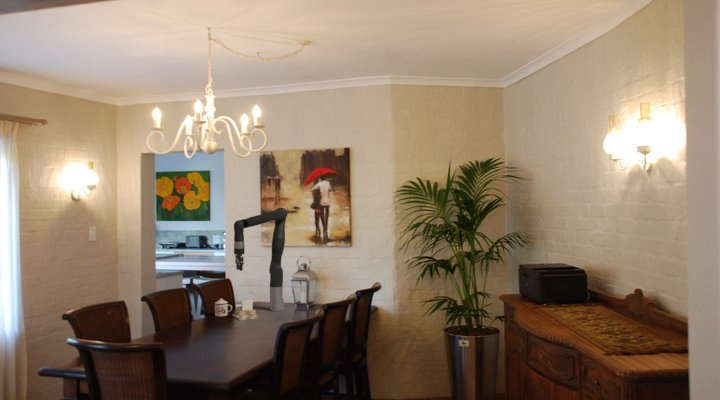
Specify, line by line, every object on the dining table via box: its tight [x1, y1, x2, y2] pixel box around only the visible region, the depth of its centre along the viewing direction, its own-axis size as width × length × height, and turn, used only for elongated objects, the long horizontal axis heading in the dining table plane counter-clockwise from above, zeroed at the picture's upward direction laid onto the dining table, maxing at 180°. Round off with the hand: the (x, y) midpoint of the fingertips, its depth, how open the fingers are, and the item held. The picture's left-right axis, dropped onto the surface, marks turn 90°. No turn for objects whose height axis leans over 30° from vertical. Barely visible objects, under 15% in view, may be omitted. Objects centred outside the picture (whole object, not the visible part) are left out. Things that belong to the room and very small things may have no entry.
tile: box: [241, 299, 254, 311], centre depth 386 cm, size 7×2×10 cm, turn 116°
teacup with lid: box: [214, 298, 233, 317], centre depth 394 cm, size 12×9×12 cm
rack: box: [232, 308, 260, 321], centre depth 385 cm, size 14×17×5 cm
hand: (239, 270), depth 408 cm, fingers open, 8 cm apart
